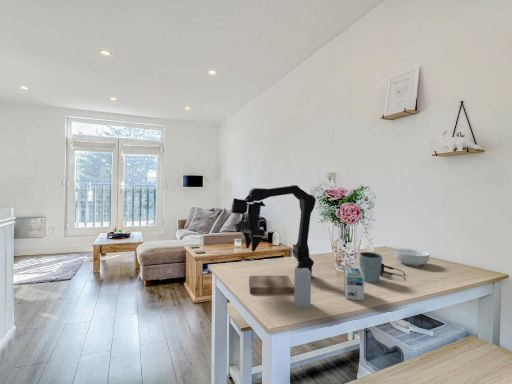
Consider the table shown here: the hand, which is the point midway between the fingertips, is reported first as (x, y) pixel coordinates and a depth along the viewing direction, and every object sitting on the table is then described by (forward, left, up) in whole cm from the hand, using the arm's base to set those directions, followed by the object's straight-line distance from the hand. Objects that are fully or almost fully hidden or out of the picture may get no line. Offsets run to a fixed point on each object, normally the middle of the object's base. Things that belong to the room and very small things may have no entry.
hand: (250, 249), depth 128 cm
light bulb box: (-42, +16, -15) cm, 47 cm away
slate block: (-19, +25, -14) cm, 34 cm away
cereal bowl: (-93, -26, -15) cm, 97 cm away
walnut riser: (-9, +7, -14) cm, 18 cm away
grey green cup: (-57, -1, -15) cm, 59 cm away
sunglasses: (-71, -7, -15) cm, 73 cm away
